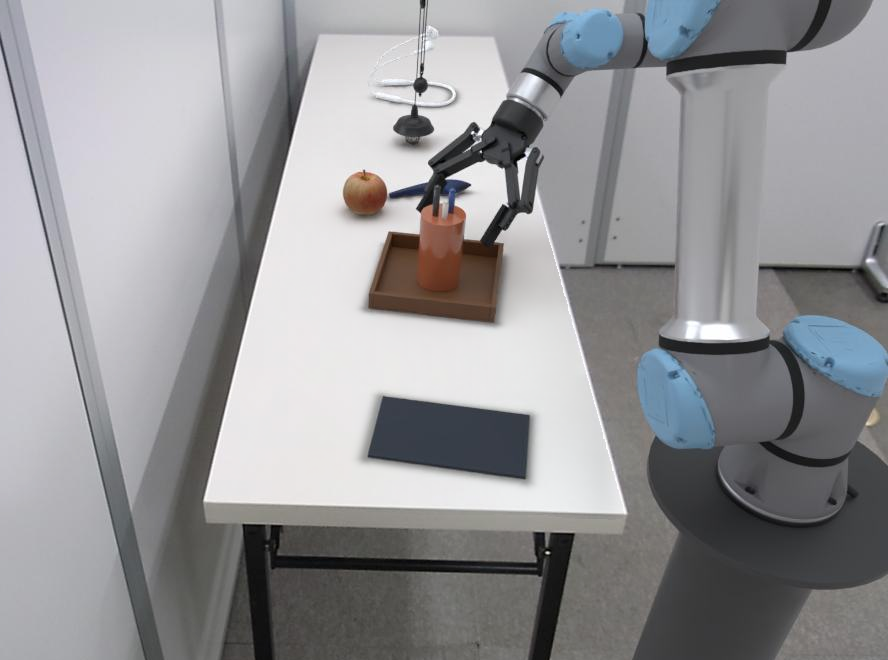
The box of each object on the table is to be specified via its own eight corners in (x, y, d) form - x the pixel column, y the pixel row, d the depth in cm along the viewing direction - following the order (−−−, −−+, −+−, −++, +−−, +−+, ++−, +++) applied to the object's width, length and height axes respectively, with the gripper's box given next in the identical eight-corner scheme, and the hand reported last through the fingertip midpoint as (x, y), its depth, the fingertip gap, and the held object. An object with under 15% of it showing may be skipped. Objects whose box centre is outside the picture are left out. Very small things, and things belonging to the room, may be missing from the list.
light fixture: (440, 153, 184) (452, -10, 163) (400, 157, 182) (408, -7, 162) (426, 133, 191) (436, -25, 170) (387, 137, 189) (393, -23, 169)
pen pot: (461, 271, 149) (471, 175, 138) (457, 294, 143) (467, 197, 132) (419, 266, 150) (425, 171, 139) (413, 289, 144) (419, 192, 133)
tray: (502, 257, 153) (504, 242, 151) (493, 322, 138) (496, 307, 136) (388, 245, 155) (388, 231, 154) (368, 308, 141) (368, 293, 139)
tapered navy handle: (391, 206, 168) (391, 196, 166) (387, 194, 170) (387, 183, 168) (472, 195, 170) (474, 185, 168) (468, 183, 172) (469, 173, 170)
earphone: (369, 63, 211) (430, 15, 202) (411, 119, 218) (472, 76, 209) (358, 84, 201) (422, 35, 192) (403, 142, 208) (467, 98, 198)
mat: (529, 417, 121) (529, 414, 121) (525, 479, 112) (525, 476, 112) (382, 398, 124) (382, 395, 124) (367, 457, 115) (367, 454, 115)
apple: (336, 204, 167) (336, 163, 161) (377, 198, 168) (378, 158, 163) (350, 224, 161) (350, 183, 156) (392, 218, 163) (393, 177, 158)
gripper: (598, 147, 137) (522, 268, 139) (473, 100, 150) (406, 209, 152) (583, 123, 130) (504, 250, 132) (455, 76, 144) (385, 191, 146)
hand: (451, 228), depth 142 cm, fingers open, 13 cm apart
